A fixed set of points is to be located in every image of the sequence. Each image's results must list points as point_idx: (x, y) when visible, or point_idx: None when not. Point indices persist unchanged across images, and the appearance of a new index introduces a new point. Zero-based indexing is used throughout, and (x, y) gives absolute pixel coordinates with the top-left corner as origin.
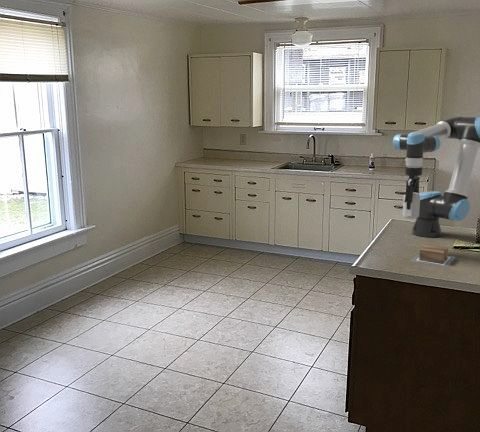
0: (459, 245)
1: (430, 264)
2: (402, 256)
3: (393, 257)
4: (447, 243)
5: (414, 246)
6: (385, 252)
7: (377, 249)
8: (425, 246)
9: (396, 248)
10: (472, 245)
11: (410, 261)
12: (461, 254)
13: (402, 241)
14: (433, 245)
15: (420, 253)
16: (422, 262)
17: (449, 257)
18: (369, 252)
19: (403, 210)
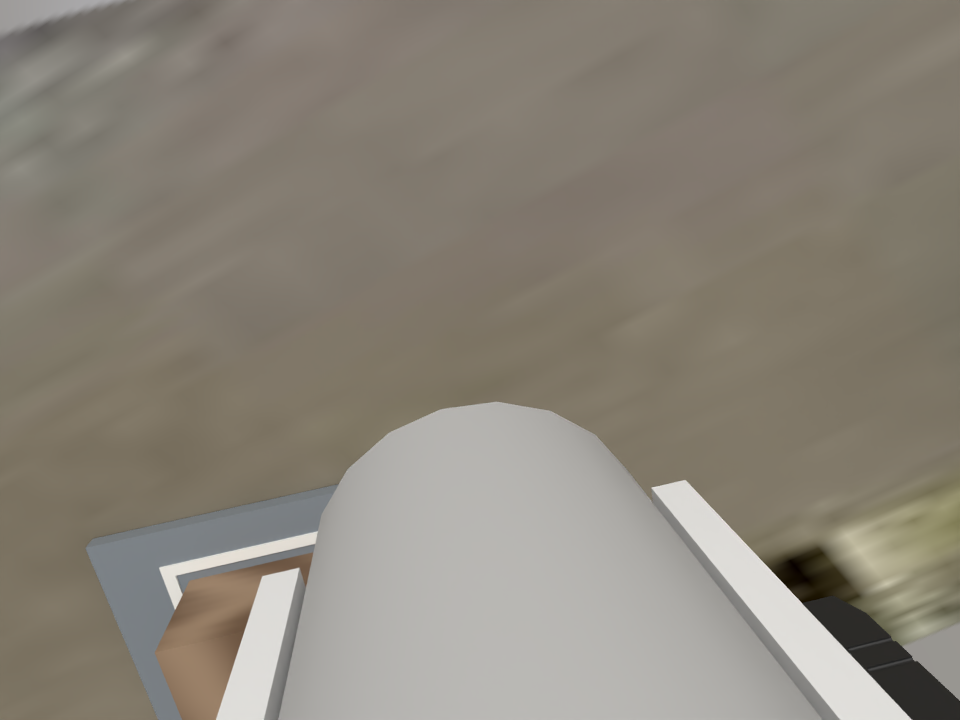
0: (867, 563)
1: (156, 689)
2: (225, 395)
3: (123, 350)
4: (877, 475)
5: (618, 315)
6: (211, 199)
7: (243, 66)
8: None
9: (433, 214)
10: (915, 623)
11: (87, 551)
12: None
13: (719, 131)
14: None
15: (171, 630)
16: (151, 627)
17: None
18: (60, 53)
19: (347, 530)
